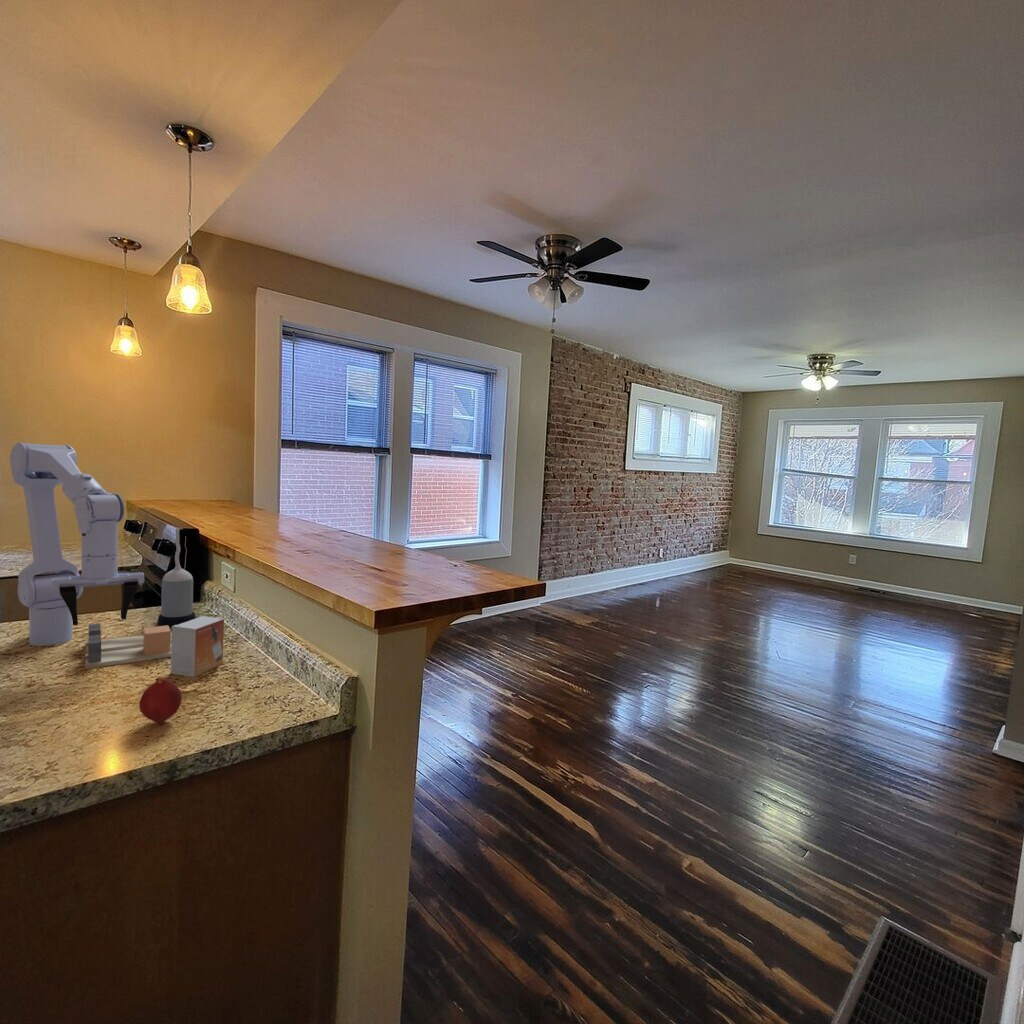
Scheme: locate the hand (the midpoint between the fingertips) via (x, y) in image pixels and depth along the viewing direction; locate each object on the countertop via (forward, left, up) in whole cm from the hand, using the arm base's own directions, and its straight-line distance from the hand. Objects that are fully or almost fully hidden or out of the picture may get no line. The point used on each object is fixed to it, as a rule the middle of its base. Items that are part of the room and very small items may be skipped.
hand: (99, 621), depth 107 cm
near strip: (-1, +6, -9) cm, 10 cm away
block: (-1, +10, -8) cm, 12 cm away
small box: (+12, +16, -10) cm, 22 cm away
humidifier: (-22, +16, -10) cm, 29 cm away
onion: (+32, +8, -10) cm, 34 cm away
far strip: (-9, +6, -9) cm, 14 cm away
